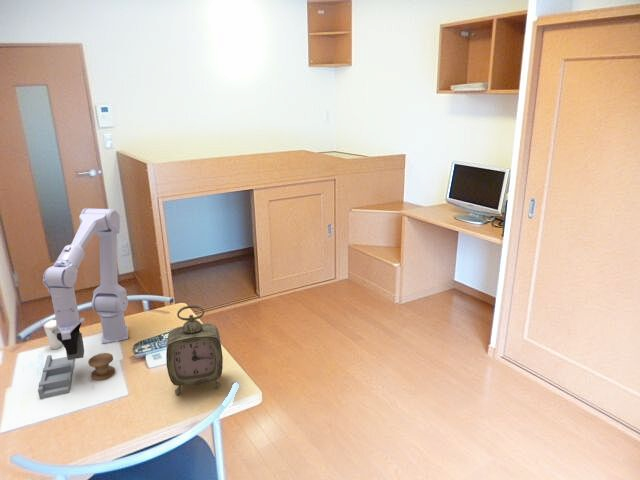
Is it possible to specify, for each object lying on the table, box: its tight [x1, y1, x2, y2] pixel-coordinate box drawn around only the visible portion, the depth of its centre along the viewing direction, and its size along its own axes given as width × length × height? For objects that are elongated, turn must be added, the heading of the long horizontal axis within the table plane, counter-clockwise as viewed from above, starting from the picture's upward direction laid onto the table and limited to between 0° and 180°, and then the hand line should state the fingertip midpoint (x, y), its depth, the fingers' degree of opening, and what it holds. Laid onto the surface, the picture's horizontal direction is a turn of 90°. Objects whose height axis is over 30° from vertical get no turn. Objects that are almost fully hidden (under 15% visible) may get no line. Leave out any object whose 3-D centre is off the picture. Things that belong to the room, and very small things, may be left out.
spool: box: [88, 352, 116, 381], centre depth 134 cm, size 6×6×5 cm
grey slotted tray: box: [37, 354, 76, 400], centre depth 133 cm, size 18×7×3 cm, turn 22°
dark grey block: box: [65, 332, 85, 360], centre depth 132 cm, size 4×4×6 cm
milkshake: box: [39, 319, 63, 350], centre depth 147 cm, size 5×5×10 cm
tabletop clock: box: [165, 304, 224, 395], centre depth 126 cm, size 14×9×25 cm, turn 105°
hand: (73, 349), depth 132 cm, fingers closed on dark grey block, 4 cm apart
